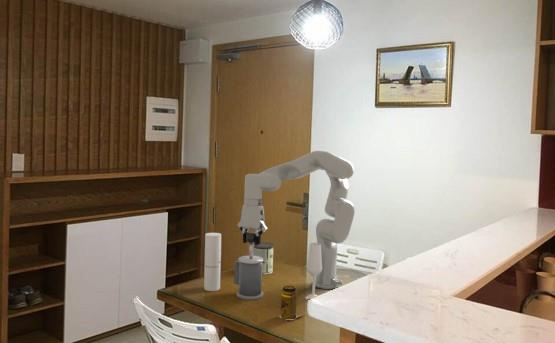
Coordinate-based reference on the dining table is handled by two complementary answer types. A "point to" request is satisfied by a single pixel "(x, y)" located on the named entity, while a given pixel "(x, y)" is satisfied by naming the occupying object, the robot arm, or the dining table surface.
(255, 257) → the press housing
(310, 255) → the champagne flute
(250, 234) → the plunger
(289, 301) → the condiment
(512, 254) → the dining table surface
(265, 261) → the coffee can
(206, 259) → the cylindrical container
